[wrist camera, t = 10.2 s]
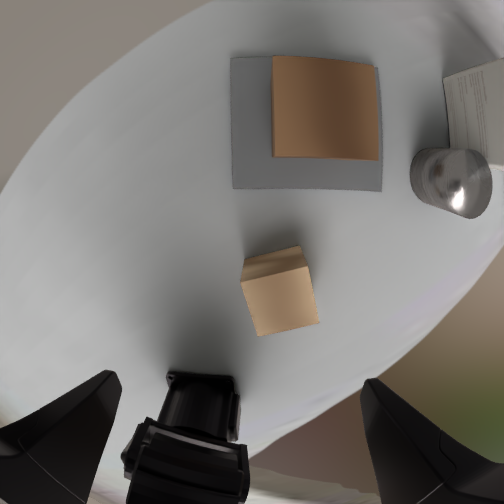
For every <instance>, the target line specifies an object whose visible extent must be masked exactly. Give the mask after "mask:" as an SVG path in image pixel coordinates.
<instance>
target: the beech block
mask: <svg viewBox="0 0 504 504" xmlns="http://www.w3.org/2000/svg"><path fill="white" fill-rule="evenodd" d="M240 283H241V287H242V290H243V293H244V296H245V299H246V302H247V305H248V308H249V311H250V314H251V317H252V320H253V323H254V326H255V329H256V332H257V335H258V337H259V336H264V335H268V334H273V333H278V332H282V331H287V330H291V329H296V328H300V327H304V326H308V325H312V324H316V323H319V319H318V314H317V309H316V303H315V298H314V293H313V288H312V284H311V279H310V274H309V269H308V265H307V263H306V260H305V258H304V255H303V253H302V250H301V248H300V246H296V247H292V248H288V249H284V250H280V251H276V252H272V253H268V254H264V255H260V256H256V257H252V258H247V259H245V260H244V265H243V271H242V276H241V281H240Z"/></svg>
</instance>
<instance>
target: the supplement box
mask: <svg viewBox="0 0 504 504" xmlns="http://www.w3.org/2000/svg"><path fill="white" fill-rule="evenodd" d="M443 84H444V90H445V96H446V104H447V112H448V122H449V135H450V148H459V149H473V150H476V151H478V152H479V153H480V154H481V155H482V156H483V157H484V158H485V160H486V161H487V163H488V165H489V168H490V169H495V170H500V171H504V58H501V59H497V60H494V61H491V62H487V63H484V64H481V65H478V66H475V67H472V68H469V69H466V70H463V71H461V72H459V73H456V74H453V75H451V76H448V77H445V78H443Z"/></svg>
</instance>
